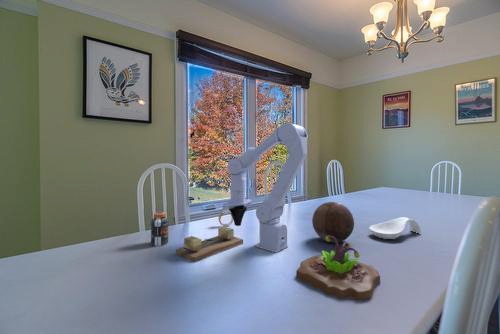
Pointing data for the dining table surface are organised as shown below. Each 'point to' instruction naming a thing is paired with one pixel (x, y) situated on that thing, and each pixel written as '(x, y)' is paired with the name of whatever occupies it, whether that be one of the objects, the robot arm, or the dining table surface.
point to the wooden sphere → (333, 221)
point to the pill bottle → (159, 229)
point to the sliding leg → (226, 232)
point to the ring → (224, 213)
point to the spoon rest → (393, 228)
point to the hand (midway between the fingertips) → (237, 225)
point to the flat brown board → (206, 247)
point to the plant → (339, 273)
